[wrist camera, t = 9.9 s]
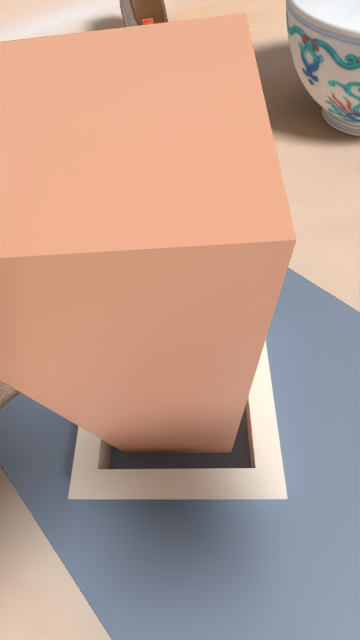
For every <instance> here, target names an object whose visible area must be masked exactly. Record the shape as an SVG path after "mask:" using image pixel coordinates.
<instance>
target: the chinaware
mask: <svg viewBox="0 0 360 640" xmlns="http://www.w3.org/2000/svg"><path fill="white" fill-rule="evenodd" d="M286 16H287V31H288V39H289V45H290V50H291V55H292V59H293V62H294V65H295V68H296V71H297V73H298V75H299V77H300V79H301V81H302V83H303V85H304V86H305V88H306V90H307V91H308V92H309V94H310V95H311V96H312V97H313V99H314V100H315V101H316V102H317V103H318V104H319V105H320V106H322V115H323V117H324V119H325V120H326V122H327V123H328V124H329V125H331V126H332V127H333V128H335V129H337V130H339V131H341V132H343V133H346V134H350V135H354V136H359V137H360V0H286Z"/></svg>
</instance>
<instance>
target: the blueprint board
mask: <svg viewBox="0 0 360 640" xmlns="http://www.w3.org/2000/svg"><path fill="white" fill-rule="evenodd" d="M266 347H267V354H268V361H269V368H270V376H271V383H272V390H273V397H274V404H275V412H276V419H277V426H278V433H279V440H280V448H281V455H282V462H283V469H284V476H285V484H286V491H287V498H288V499H280V500H80V499H68V495H69V488H70V481H71V474H72V467H73V461H74V454H75V447H76V440H77V433H78V425H76V424H74V423H72V422H71V421H69V420H67V419H66V418H64V417H62V416H60V415H59V414H57V413H55V412H54V411H52V410H50V409H48V408H47V407H45V406H43V405H42V404H40V403H38V402H36V401H35V400H33V399H31V398H29V397H28V396H26V395H24V394H23V393H21V392H20V393H19V394H18V395H17V396H15V397H14V398H13V399H12V400H11V401H9V402H8V403H7V404H6V405H5V406H4V407H2V408H1V409H0V465H1V467H2V468H3V470H4V471H5V473H6V475H7V476H8V478H9V479H10V481H11V482H12V484H13V486H14V487H15V489H16V490H17V492H18V493H19V495H20V496H21V498H22V500H23V501H24V503H25V504H26V506H27V507H28V509H29V511H30V512H31V514H32V515H33V517H34V518H35V520H36V522H37V523H38V525H39V526H40V528H41V529H42V531H43V533H44V534H45V536H46V537H47V539H48V540H49V542H50V544H51V545H52V547H53V548H54V550H55V551H56V553H57V555H58V556H59V558H60V559H61V561H62V562H63V564H64V565H65V567H66V569H67V570H68V572H69V573H70V575H71V576H72V578H73V580H74V581H75V583H76V584H77V586H78V587H79V589H80V591H81V592H82V594H83V595H84V597H85V598H86V600H87V602H88V603H89V605H90V606H91V608H92V609H93V611H94V613H95V614H96V616H97V617H98V619H99V620H100V622H101V624H102V625H103V627H104V628H105V630H106V631H107V633H108V634H109V636H110V638H111V639H112V640H360V312H358V311H357V310H355V309H354V308H352V307H350V306H349V305H347V304H346V303H344V302H342V301H341V300H339V299H338V298H336V297H334V296H333V295H331V294H330V293H328V292H326V291H325V290H323V289H322V288H320V287H318V286H317V285H315V284H314V283H312V282H310V281H309V280H307V279H306V278H304V277H302V276H301V275H299V274H298V273H296V272H294V271H293V270H291V269H290V268H287V272H286V275H285V278H284V281H283V285H282V288H281V291H280V294H279V298H278V301H277V304H276V307H275V311H274V314H273V317H272V321H271V324H270V327H269V330H268V334H267V337H266ZM210 468H251V461H250V450H249V440H248V429H247V419H246V408H245V409H244V412H243V415H242V418H241V422H240V425H239V428H238V432H237V435H236V438H235V441H234V445H233V448H232V451H231V453H181V454H126V453H124V452H122V451H121V450H119V449H117V448H116V447H114V446H112V447H111V457H110V467H109V469H210Z"/></svg>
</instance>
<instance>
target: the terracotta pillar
mask: <svg viewBox="0 0 360 640" xmlns="http://www.w3.org/2000/svg"><path fill="white" fill-rule="evenodd" d="M295 242H296V237H295V233H294V228H293V224H292V219H291V215H290V210H289V206H288V201H287V197H286V192H285V188H284V183H283V179H282V174H281V170H280V165H279V161H278V156H277V152H276V147H275V143H274V138H273V134H272V130H271V125H270V121H269V116H268V112H267V107H266V103H265V98H264V94H263V89H262V85H261V80H260V76H259V71H258V67H257V62H256V58H255V53H254V49H253V44H252V40H251V35H250V31H249V26H248V22H247V17H246V13H243V14H234V15H226V16H217V17H209V18H200V19H191V20H183V21H174V22H166V23H157V24H148V25H140V26H131V27H123V28H114V29H106V30H97V31H88V32H80V33H71V34H63V35H54V36H45V37H37V38H28V39H20V40H11V41H2V42H0V381H2V382H4V383H5V384H7V385H9V386H11V387H12V388H14V389H16V390H17V391H19V392H21V393H23V394H24V395H26V396H28V397H29V398H31V399H33V400H35V401H36V402H38V403H40V404H42V405H43V406H45V407H47V408H48V409H50V410H52V411H54V412H55V413H57V414H59V415H60V416H62V417H64V418H66V419H67V420H69V421H71V422H72V423H74V424H76V425H78V426H79V427H81V428H83V429H85V430H86V431H88V432H90V433H91V434H93V435H95V436H97V437H98V438H100V439H102V440H103V441H105V442H107V443H109V444H110V445H112V446H114V447H116V448H117V449H119V450H121V451H122V452H124V453H126V454H181V453H231V451H232V448H233V445H234V441H235V438H236V435H237V432H238V428H239V425H240V422H241V418H242V415H243V412H244V409H245V405H246V402H247V399H248V396H249V392H250V389H251V386H252V383H253V379H254V376H255V373H256V369H257V366H258V363H259V360H260V356H261V353H262V350H263V347H264V343H265V340H266V337H267V334H268V330H269V327H270V324H271V321H272V317H273V314H274V311H275V307H276V304H277V301H278V298H279V294H280V291H281V288H282V285H283V281H284V278H285V275H286V272H287V268H288V265H289V262H290V258H291V255H292V252H293V249H294V245H295Z"/></svg>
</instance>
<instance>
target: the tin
mask: <svg viewBox="0 0 360 640" xmlns="http://www.w3.org/2000/svg"><path fill="white" fill-rule="evenodd" d="M120 8H121V12H122V16H123V20H124V23H125V27H131V26H140V25H148V24H157V23H166V22H168V19H167V14H166V9H165V4H164V0H120Z"/></svg>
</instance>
